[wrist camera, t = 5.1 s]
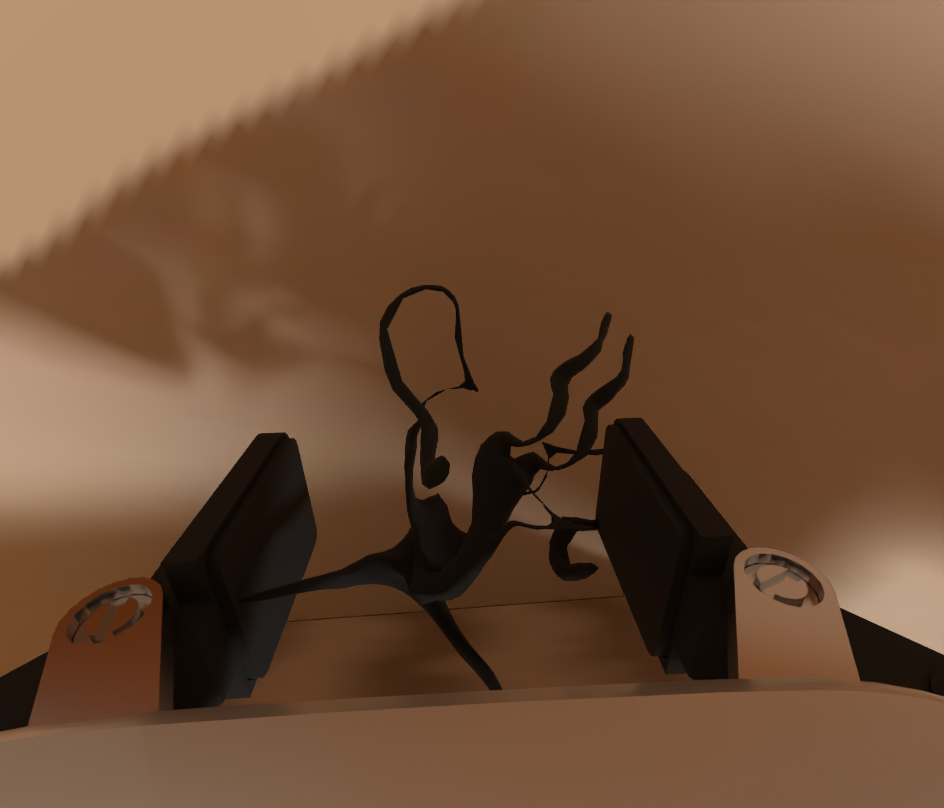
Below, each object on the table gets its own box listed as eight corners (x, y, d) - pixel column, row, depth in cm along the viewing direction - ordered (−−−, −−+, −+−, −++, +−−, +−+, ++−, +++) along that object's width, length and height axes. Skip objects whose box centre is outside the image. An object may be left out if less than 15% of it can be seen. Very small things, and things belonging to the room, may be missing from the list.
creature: (467, 201, 10) (254, 470, 11) (551, 133, 5) (143, 644, 6) (681, 407, 13) (494, 614, 13) (880, 500, 8) (561, 823, 8)
